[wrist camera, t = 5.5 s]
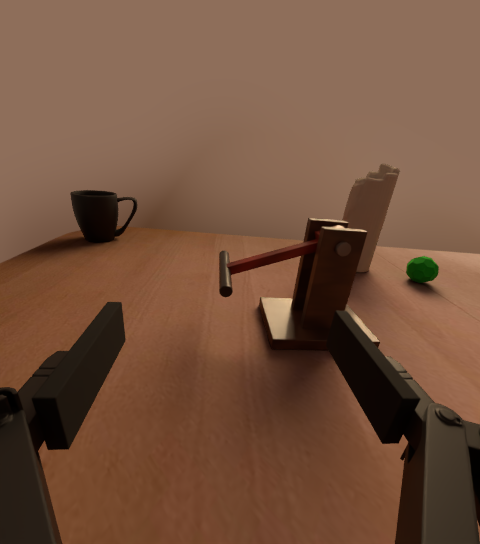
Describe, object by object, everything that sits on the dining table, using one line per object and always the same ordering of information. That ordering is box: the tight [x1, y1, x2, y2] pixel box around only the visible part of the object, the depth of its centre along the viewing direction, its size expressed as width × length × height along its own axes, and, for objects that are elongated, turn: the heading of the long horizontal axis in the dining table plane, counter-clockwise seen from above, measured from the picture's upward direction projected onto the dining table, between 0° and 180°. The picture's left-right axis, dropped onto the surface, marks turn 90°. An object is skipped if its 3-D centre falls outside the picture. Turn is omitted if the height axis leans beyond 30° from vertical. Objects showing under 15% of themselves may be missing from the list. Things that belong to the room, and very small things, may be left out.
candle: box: [342, 164, 400, 272], centre depth 50 cm, size 7×14×20 cm, turn 91°
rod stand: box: [259, 218, 380, 350], centre depth 29 cm, size 12×9×13 cm
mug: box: [71, 190, 137, 242], centre depth 54 cm, size 8×12×10 cm
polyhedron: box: [406, 256, 439, 283], centre depth 48 cm, size 5×5×5 cm
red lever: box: [219, 225, 344, 297], centre depth 28 cm, size 14×10×2 cm
